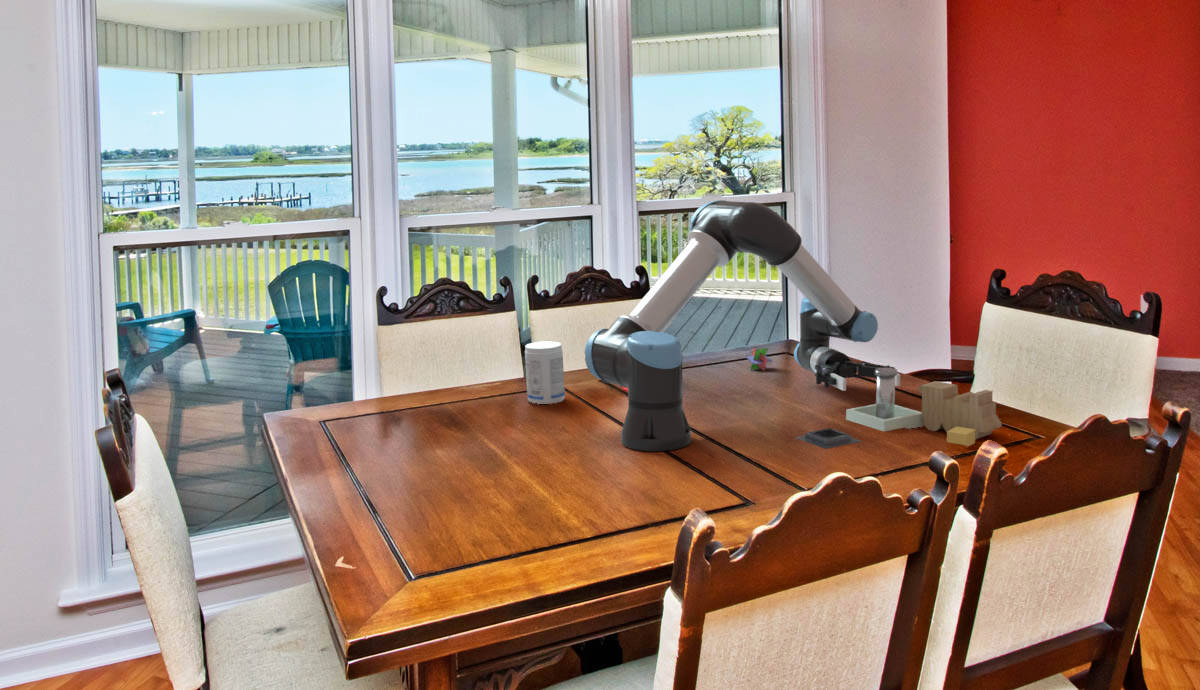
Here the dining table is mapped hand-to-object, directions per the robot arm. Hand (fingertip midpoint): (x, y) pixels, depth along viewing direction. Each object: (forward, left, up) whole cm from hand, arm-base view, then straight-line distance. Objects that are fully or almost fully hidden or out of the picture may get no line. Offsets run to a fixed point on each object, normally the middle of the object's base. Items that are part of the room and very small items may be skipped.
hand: (871, 382), depth 233 cm
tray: (-2, -6, -8) cm, 11 cm away
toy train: (+6, -20, -8) cm, 23 cm away
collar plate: (-22, -10, -8) cm, 26 cm away
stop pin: (-2, -6, -8) cm, 10 cm away
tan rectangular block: (0, -26, -8) cm, 28 cm away
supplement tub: (-56, +58, -8) cm, 81 cm away
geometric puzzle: (+10, +56, -8) cm, 57 cm away
